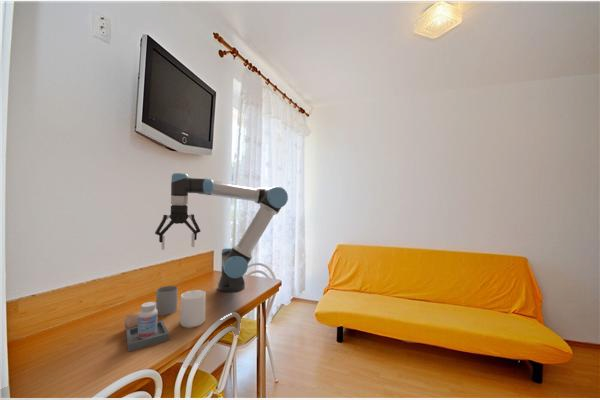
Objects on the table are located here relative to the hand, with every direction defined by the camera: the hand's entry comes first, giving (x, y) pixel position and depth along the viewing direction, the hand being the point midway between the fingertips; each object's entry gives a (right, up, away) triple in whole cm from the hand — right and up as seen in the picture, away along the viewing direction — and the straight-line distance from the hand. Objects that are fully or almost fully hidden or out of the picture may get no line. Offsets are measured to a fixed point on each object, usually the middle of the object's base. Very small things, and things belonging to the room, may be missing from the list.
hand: (178, 247), depth 125 cm
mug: (+15, -27, -20) cm, 37 cm away
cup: (0, -27, -10) cm, 29 cm away
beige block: (-4, -27, -25) cm, 37 cm away
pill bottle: (+5, -26, -33) cm, 42 cm away
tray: (+5, -27, -33) cm, 43 cm away
